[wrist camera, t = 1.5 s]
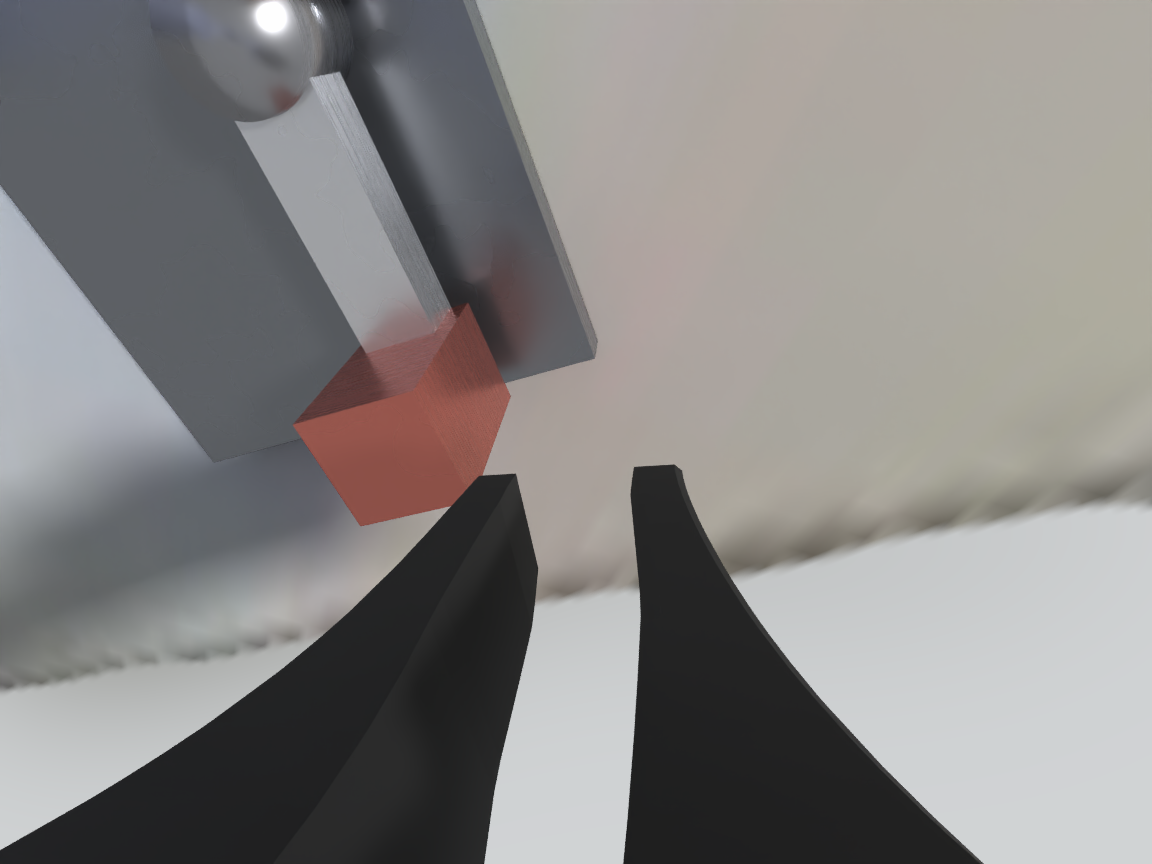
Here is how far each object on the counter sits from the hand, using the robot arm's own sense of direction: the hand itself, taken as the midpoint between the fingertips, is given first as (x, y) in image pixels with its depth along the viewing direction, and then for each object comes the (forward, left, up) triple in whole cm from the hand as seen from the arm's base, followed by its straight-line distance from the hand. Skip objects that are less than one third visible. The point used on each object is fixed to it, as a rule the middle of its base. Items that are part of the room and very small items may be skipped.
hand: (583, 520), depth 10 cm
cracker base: (-8, +6, -10) cm, 14 cm away
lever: (-5, +4, -9) cm, 11 cm away
